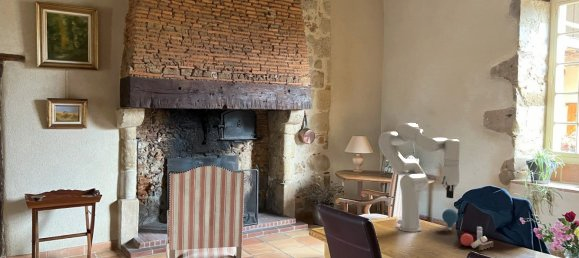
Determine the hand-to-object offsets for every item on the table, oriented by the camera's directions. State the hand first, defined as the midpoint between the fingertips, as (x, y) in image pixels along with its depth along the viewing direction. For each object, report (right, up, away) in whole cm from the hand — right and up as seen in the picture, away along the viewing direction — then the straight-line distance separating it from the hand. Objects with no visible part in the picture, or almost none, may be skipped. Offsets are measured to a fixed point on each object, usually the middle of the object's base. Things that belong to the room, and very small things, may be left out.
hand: (449, 197), depth 234 cm
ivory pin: (+6, -21, -15) cm, 27 cm away
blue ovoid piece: (+7, -22, +20) cm, 30 cm away
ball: (+4, -19, -12) cm, 23 cm away
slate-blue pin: (+12, -22, -9) cm, 27 cm away
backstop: (+12, -22, -17) cm, 30 cm away
